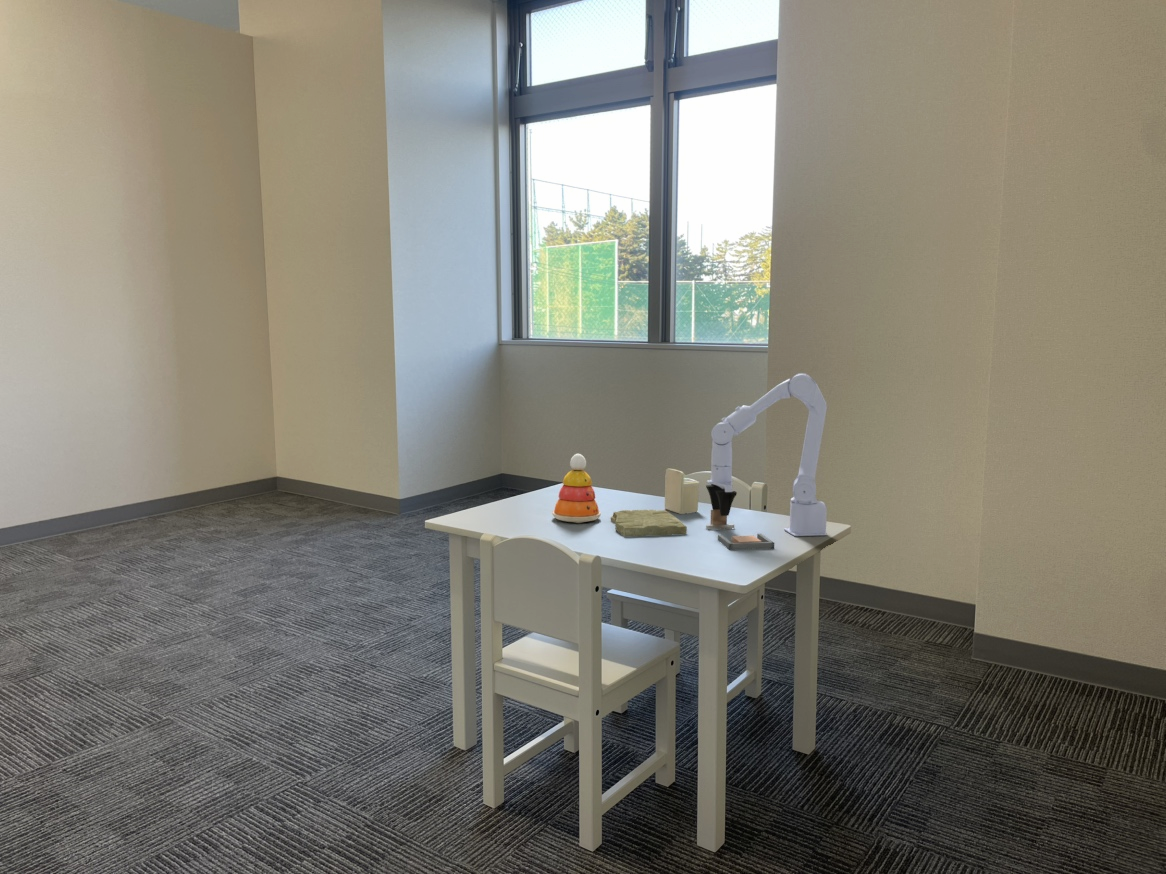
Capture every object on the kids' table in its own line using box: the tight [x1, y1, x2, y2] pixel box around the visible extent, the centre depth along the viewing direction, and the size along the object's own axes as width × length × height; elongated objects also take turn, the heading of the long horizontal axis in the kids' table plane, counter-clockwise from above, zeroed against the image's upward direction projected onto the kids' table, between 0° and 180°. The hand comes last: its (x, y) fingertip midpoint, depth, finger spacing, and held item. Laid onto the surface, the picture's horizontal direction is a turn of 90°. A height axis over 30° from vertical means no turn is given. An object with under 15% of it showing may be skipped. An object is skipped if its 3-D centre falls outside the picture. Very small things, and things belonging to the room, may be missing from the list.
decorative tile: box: [610, 509, 688, 537], centre depth 245 cm, size 19×20×4 cm
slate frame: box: [717, 533, 775, 551], centre depth 227 cm, size 12×10×2 cm
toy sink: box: [664, 468, 701, 515], centre depth 267 cm, size 8×7×13 cm
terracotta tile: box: [731, 535, 762, 543], centre depth 227 cm, size 6×6×2 cm
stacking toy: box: [551, 453, 601, 524], centre depth 253 cm, size 14×14×20 cm
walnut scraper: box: [705, 509, 735, 530], centre depth 245 cm, size 8×3×5 cm, turn 99°
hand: (720, 512), depth 245 cm, fingers open, 7 cm apart
